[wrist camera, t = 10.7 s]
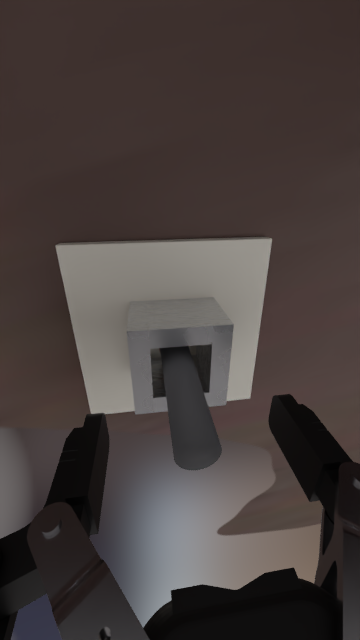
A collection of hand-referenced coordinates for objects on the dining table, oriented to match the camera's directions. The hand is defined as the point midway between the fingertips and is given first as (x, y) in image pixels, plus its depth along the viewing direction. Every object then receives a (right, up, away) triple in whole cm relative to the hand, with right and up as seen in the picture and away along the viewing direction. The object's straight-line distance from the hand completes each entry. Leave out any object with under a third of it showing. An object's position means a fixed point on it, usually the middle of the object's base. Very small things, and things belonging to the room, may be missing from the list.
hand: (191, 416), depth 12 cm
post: (-1, +4, +8) cm, 9 cm away
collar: (-1, +3, +7) cm, 8 cm away
